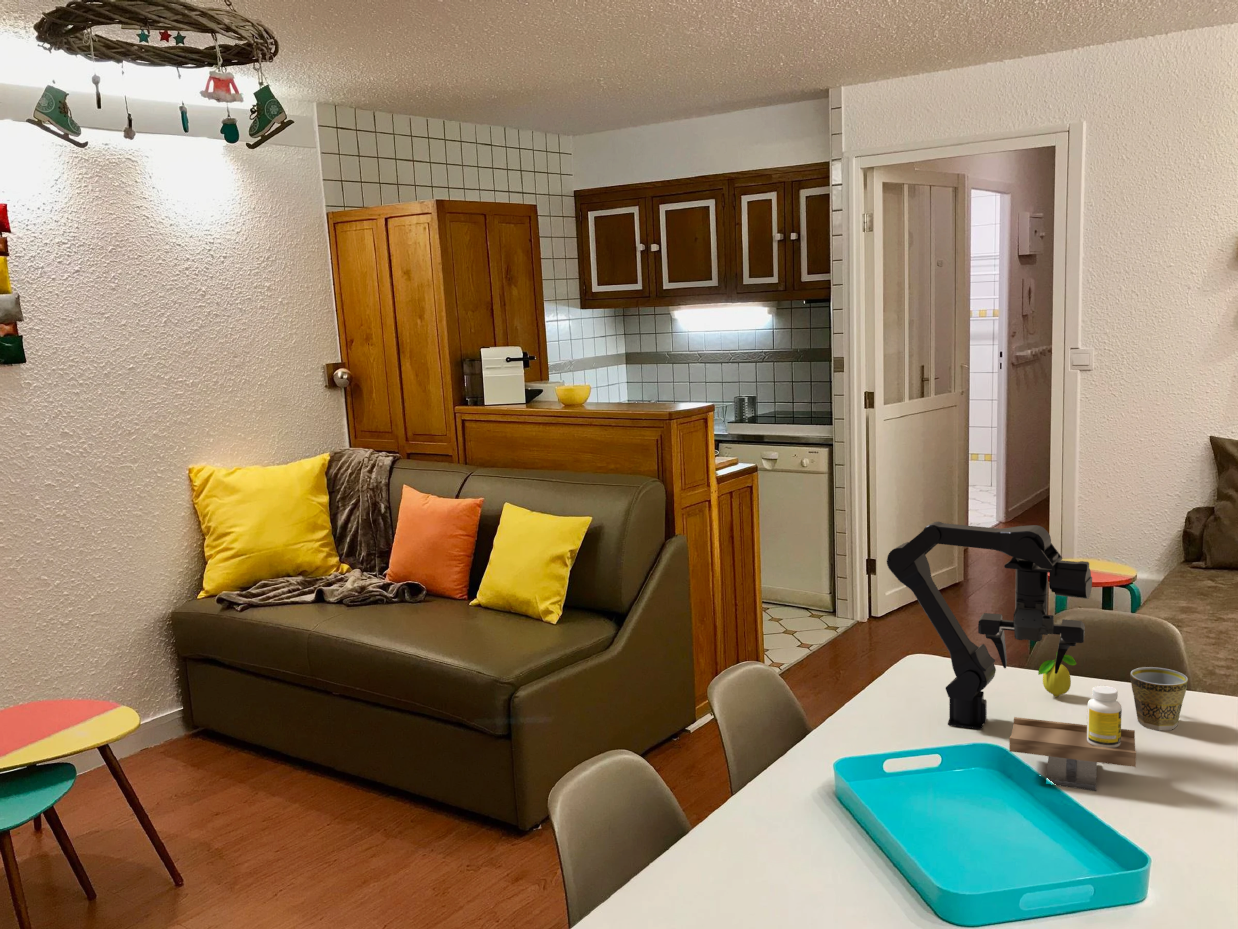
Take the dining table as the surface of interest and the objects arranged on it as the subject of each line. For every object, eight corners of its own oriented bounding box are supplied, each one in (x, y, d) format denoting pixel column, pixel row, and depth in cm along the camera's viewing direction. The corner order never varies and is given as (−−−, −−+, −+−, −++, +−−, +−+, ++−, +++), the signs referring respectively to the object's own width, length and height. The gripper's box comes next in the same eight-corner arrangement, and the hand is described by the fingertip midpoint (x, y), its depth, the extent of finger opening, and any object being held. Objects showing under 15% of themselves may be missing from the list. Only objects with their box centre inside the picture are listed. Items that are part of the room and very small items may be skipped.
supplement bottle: (1124, 750, 176) (1125, 695, 175) (1090, 748, 177) (1091, 694, 176) (1116, 737, 181) (1117, 684, 180) (1083, 736, 183) (1084, 683, 181)
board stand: (1045, 784, 179) (1045, 759, 179) (1048, 758, 189) (1049, 735, 188) (1095, 791, 176) (1096, 766, 175) (1096, 764, 186) (1097, 741, 185)
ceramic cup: (1196, 733, 197) (1198, 683, 195) (1144, 735, 197) (1145, 685, 195) (1162, 708, 209) (1163, 661, 208) (1113, 709, 210) (1114, 663, 208)
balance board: (1009, 751, 182) (1009, 738, 181) (1014, 729, 190) (1014, 717, 190) (1135, 767, 173) (1135, 753, 173) (1134, 743, 182) (1134, 730, 182)
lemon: (1076, 694, 219) (1076, 649, 217) (1071, 703, 214) (1072, 657, 212) (1042, 689, 222) (1043, 645, 221) (1037, 698, 217) (1038, 653, 216)
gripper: (974, 599, 193) (974, 679, 195) (1083, 607, 185) (1081, 690, 187) (981, 584, 203) (981, 660, 205) (1085, 591, 195) (1083, 670, 197)
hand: (1030, 670), depth 198 cm, fingers open, 9 cm apart
